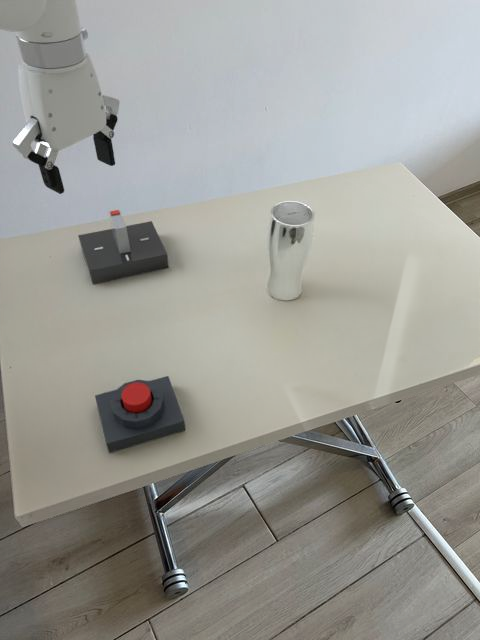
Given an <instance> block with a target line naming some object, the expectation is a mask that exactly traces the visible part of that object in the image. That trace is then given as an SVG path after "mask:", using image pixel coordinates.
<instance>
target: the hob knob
mask: <svg viewBox="0 0 480 640" xmlns="http://www.w3.org/2000/svg"><path fill="white" fill-rule="evenodd" d="M108 215H109V220H110V226H111V229H112V231H113V236H114V239H115V242H116V244H117V247H118V250H119V252H120V254H121V253H126V252H130V245H129V239H128V233H127V228H126V226H127V225H126V222H125V220H124V217H123V215H122V213H121V210H119V209H115V210H110V211H109V212H108Z"/></svg>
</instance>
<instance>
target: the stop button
mask: <svg viewBox="0 0 480 640" xmlns="http://www.w3.org/2000/svg"><path fill="white" fill-rule="evenodd" d="M121 397H122V401H123V405H124V407H125V409H126V410H128V411H129V412H132V413H140V412H143V411H145V410H146V409H148V408H149V406H150V405H151V402H152V398H151V393H150V389H149V387H148V386H147V385H145V384H143V383H132V384H129V385H128V386H126V387H125V388H124V389H123V391H122V394H121Z"/></svg>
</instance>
